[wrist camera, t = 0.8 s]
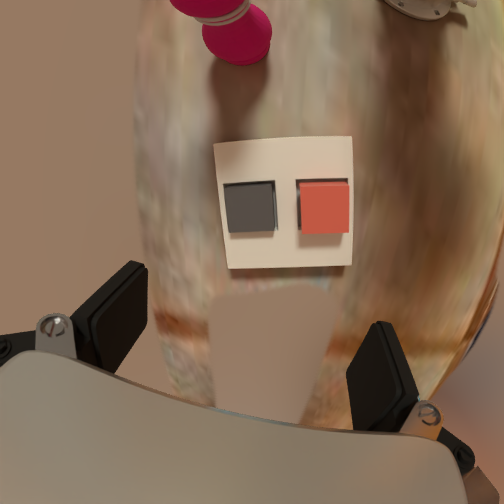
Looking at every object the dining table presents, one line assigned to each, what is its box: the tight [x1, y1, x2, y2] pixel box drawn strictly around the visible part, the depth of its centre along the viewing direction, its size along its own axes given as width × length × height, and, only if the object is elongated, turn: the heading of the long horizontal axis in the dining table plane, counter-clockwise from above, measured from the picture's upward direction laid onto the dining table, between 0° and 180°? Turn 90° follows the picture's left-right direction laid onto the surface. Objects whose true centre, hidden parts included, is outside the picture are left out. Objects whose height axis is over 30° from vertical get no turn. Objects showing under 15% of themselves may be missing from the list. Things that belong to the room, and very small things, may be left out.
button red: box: [299, 182, 349, 234], centre depth 30 cm, size 5×5×2 cm
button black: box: [224, 182, 275, 233], centre depth 32 cm, size 5×5×2 cm
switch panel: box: [213, 136, 354, 269], centre depth 33 cm, size 15×15×3 cm
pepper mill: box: [170, 0, 272, 66], centre depth 18 cm, size 7×7×20 cm
